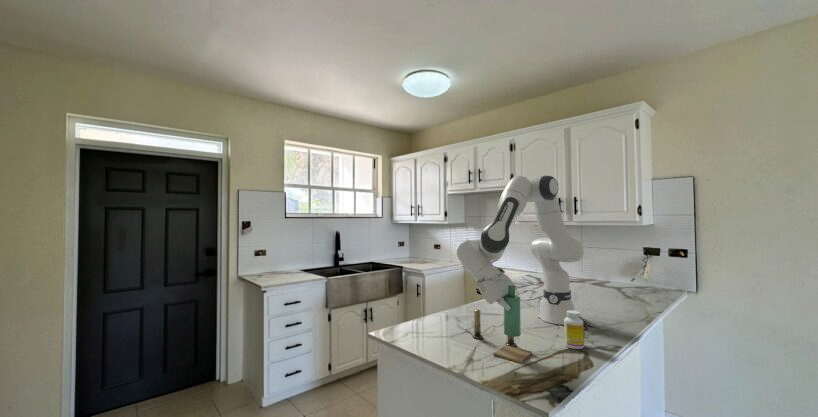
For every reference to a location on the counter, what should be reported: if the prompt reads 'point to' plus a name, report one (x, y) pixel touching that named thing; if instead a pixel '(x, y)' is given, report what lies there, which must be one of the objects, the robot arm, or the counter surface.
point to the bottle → (512, 314)
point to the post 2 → (510, 341)
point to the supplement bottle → (573, 330)
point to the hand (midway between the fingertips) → (513, 307)
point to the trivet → (513, 354)
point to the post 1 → (477, 325)
